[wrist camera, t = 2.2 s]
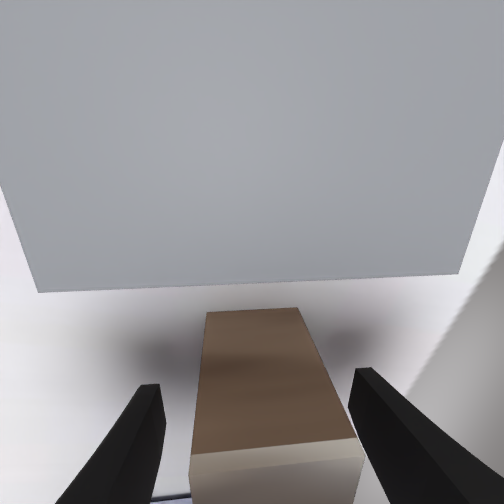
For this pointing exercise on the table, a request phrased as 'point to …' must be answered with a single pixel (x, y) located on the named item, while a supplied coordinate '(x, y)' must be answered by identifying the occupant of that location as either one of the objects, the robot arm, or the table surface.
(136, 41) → the plinth
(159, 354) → the table surface
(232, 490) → the block
